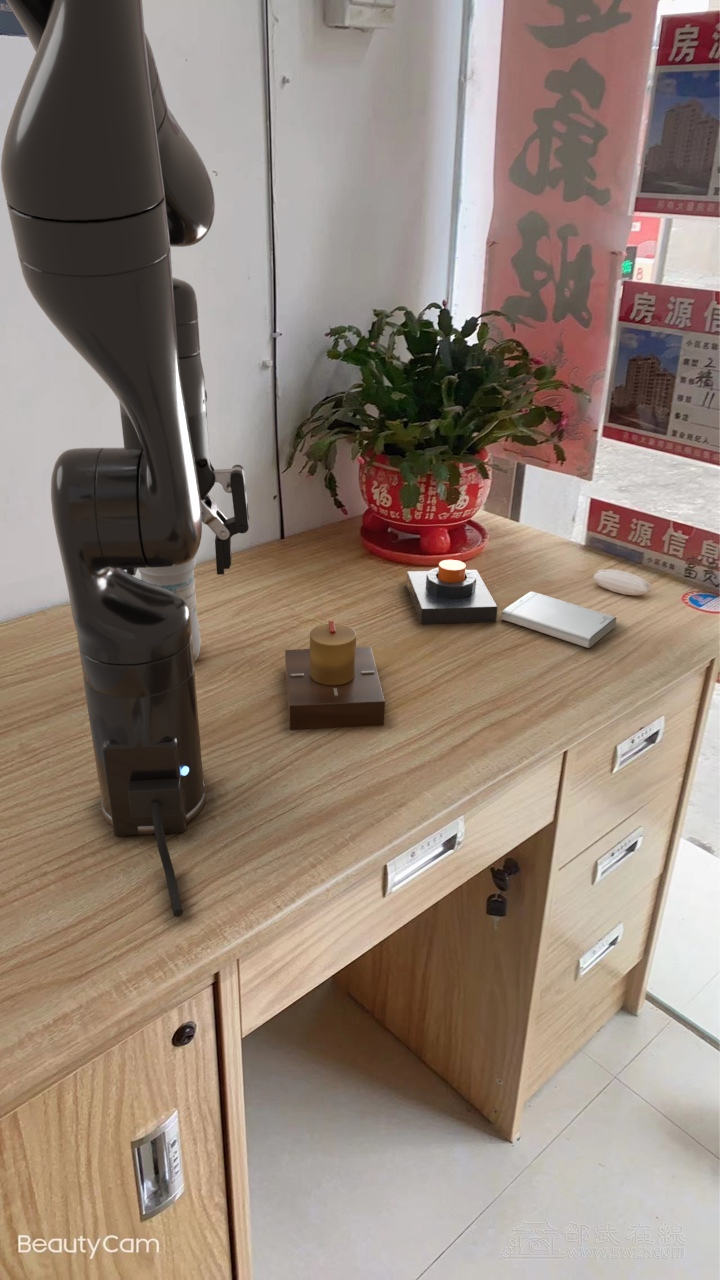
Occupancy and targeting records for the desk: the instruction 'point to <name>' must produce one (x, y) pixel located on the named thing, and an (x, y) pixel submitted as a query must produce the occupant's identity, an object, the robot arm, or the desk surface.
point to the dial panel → (333, 694)
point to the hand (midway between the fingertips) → (177, 572)
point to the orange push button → (451, 571)
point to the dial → (332, 654)
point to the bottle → (178, 591)
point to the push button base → (450, 598)
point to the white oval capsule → (622, 582)
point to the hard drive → (559, 619)
